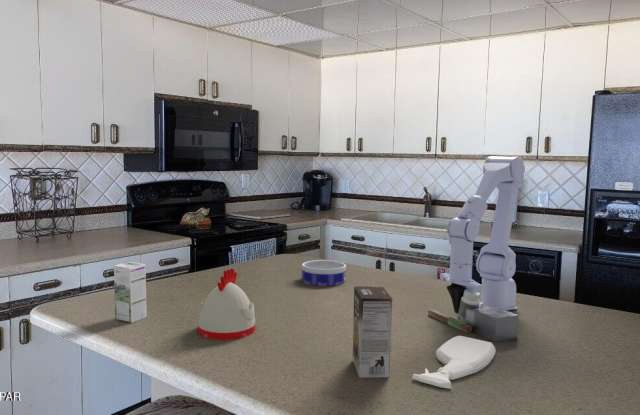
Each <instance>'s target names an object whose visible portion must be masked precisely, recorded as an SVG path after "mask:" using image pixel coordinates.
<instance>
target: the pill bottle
mask: <svg viewBox="0 0 640 415" xmlns="http://www.w3.org/2000/svg"><path fill="white" fill-rule="evenodd" d="M480 299H481V292H477V293H475V292H473V291H472V290H470V289H466V290H465V291H464V296H463V297H462V298H461V302H460V307H459V312H458V313H457V316H456V317H457V319H456V320H458V321H461V322H463V323H465V324H466V309H470V308H478V307H479V304H480V303H481V300H480Z"/></svg>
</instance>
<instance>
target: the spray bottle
mask: <svg viewBox="0 0 640 415" xmlns="http://www.w3.org/2000/svg"><path fill="white" fill-rule="evenodd" d="M496 351H497V350H496V347H495V346H494V344H493V342H490V341H485V340H482V339H477V338H473V337H469V336H468V337H467V336H463V335H457V336H454V337H452V338H450V339H449V340H446V341H445V342H444V343H443V344H441V346H439V347H438V348H437V349H436V351H435V355H436V358H437V360H438V361H439V362H440V363H442V364H443V365H444V366H443V367H439V368H438V369H437V371H435V372H431V373H430V372H429V370H428V368H425V369H424V371H425V372H424V373H421V374H420V373H419V374H416V373H413V374H412V380H416V381H418V382H420V383H422V384H423V383H424V384H426V385H427V384H428V385H431V386H434V387H437V388H438V387H439V388H442V389H443V388H444V389H452V382H451V380H452V381H455V380H457V379H461V378H464V377H467V376H470V375H472V374H473V375H474V374H476V373H478V372H479V371H482V370H483V369H484V368H486V367H487V366H488V365H489V363H491V361H492V360H493V359H494V356H496V355H495V354H496V353H497V352H496Z"/></svg>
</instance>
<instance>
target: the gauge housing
mask: <svg viewBox="0 0 640 415" xmlns="http://www.w3.org/2000/svg"><path fill="white" fill-rule="evenodd" d="M518 327H519V314H517V313H513V312H511V311H510V310H503V309H501V308H498V307H490V308H483V309H475V310H474V329H473V331H472V332H473V333H475V335H479V336H481V337H483V338H485V339H487V340H490V341H492V342H494V343H498V342H504V341H509V340H514V339H515V340H516V339H518V333H519V331H518Z"/></svg>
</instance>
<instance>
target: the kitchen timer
mask: <svg viewBox="0 0 640 415" xmlns="http://www.w3.org/2000/svg"><path fill="white" fill-rule="evenodd" d="M237 276H238V272H235V268H230V269H226V270H223V276H220V277H219V278H220V282H217V283H216V284H217V286H216V287H214V288H213V289H212V290H211V291H210V293H209V294H207V297H206V298H205V301H204V302H201V303H200V307H199V309H200V310H199V311H200V314H199V318H198V321H197V322H198V323H197V332H198V334H199V335H200V336H202V337H204V338H207V339H212V340H224V341H225V340H235V339H241V338H244V337H249V336H250V335H252V334H254V332H255V331H256V316H255V306H254V302H251V301H250V299H249V297H248V296H247V294H246V293H245V292H244V290H243V289H242V288H240V287H239V286H238V285H237V284H236V281H237Z"/></svg>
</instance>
